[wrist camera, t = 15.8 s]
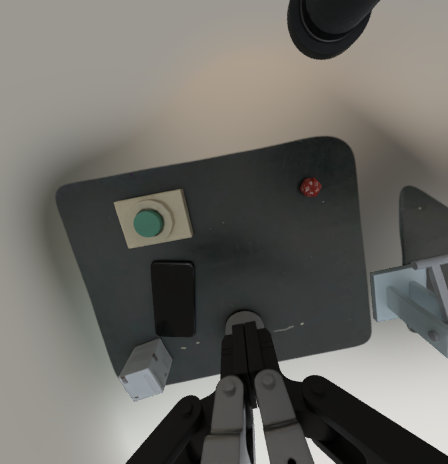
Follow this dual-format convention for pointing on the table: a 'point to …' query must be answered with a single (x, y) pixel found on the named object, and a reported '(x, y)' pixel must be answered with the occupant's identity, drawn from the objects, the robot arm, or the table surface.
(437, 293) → the flush lever
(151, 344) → the white cardboard box
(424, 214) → the table surface
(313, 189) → the die
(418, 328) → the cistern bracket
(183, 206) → the green push button box
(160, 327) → the smartphone
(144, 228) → the flush button
